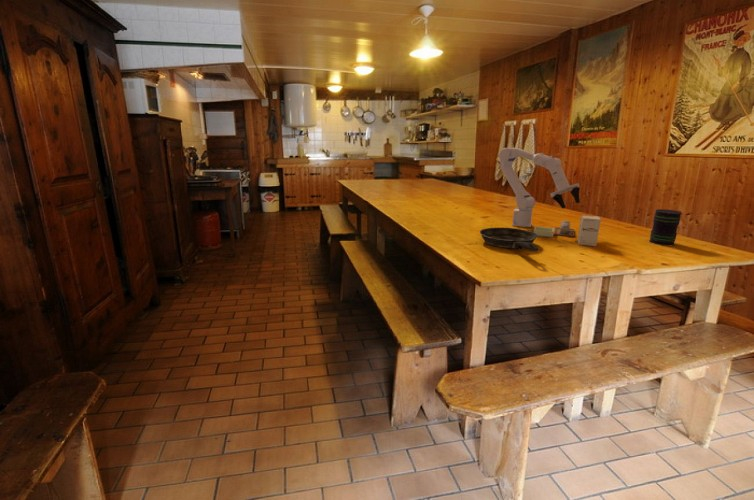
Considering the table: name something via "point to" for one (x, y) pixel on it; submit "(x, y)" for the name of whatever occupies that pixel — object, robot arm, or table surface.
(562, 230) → the stone front
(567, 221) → the stone back
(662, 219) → the storage jar
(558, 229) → the shallow brown tray
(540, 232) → the bin
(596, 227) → the supplement box
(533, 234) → the frying pan
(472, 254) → the table surface
